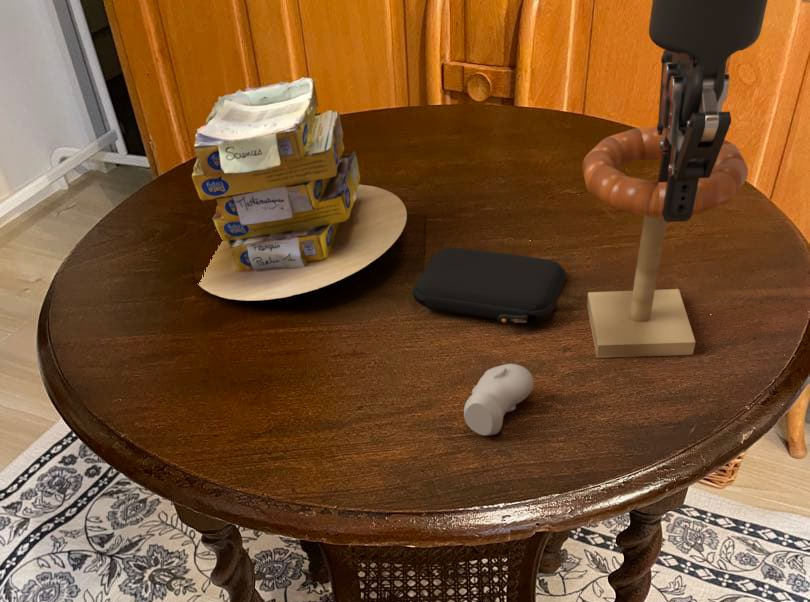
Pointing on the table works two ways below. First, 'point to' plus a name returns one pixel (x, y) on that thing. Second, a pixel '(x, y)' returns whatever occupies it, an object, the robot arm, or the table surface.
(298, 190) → the stack of yellow boxes
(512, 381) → the smooth white sculpture
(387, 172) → the table surface
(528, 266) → the carrying case
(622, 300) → the post
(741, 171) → the ring
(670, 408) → the table surface
